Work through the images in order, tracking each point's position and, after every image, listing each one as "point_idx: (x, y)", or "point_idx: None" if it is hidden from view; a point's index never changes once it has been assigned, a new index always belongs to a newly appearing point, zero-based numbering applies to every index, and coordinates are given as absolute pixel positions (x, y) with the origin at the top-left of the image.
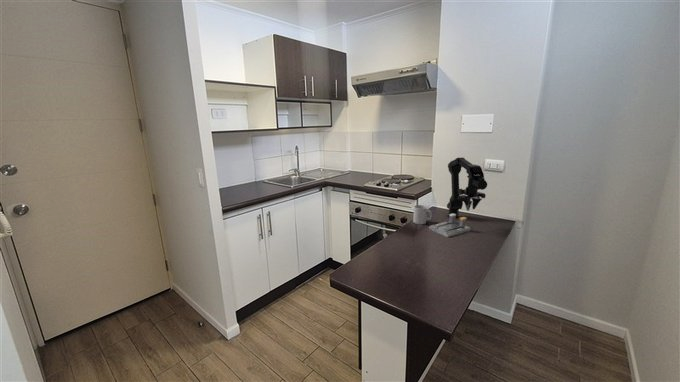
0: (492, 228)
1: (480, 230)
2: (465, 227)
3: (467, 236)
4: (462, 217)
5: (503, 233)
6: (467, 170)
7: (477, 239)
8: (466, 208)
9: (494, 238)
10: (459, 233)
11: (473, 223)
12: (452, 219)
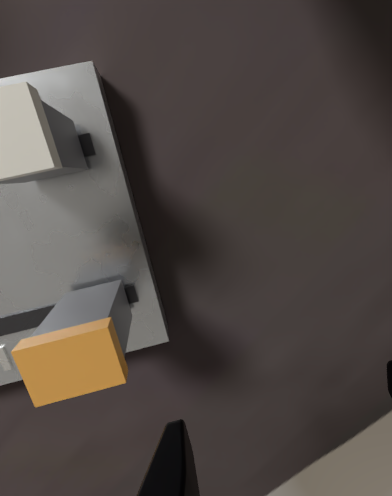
0: (380, 331)
1: (256, 343)
2: None
3: (56, 424)
4: (71, 350)
5: (364, 427)
6: None
7: (99, 481)
8: (149, 478)
9: (232, 484)
10: None
11: (336, 175)
12: (7, 181)
